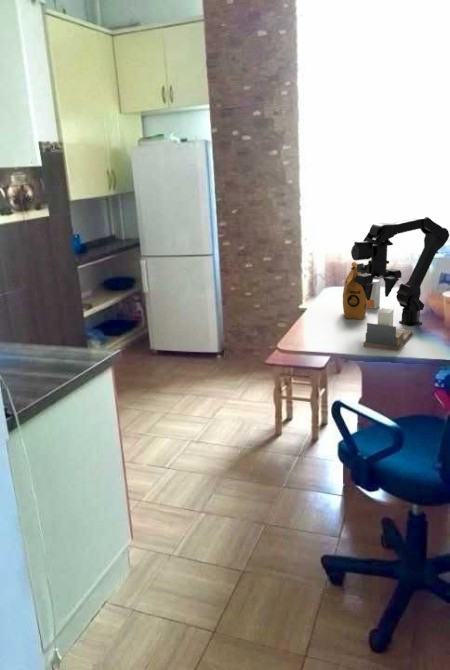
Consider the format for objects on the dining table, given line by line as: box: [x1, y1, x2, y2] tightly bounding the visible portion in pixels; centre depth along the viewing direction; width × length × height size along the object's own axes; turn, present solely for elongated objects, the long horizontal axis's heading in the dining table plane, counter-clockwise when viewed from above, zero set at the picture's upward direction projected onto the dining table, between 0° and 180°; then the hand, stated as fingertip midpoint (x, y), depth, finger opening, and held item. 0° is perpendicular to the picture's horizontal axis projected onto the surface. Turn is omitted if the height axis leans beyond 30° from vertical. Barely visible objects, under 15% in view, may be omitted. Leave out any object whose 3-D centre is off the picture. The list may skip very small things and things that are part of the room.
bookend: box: [366, 322, 397, 346], centre depth 192 cm, size 1×10×7 cm, turn 59°
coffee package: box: [342, 261, 367, 320], centre depth 231 cm, size 10×12×22 cm
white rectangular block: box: [377, 308, 394, 326], centre depth 195 cm, size 5×4×11 cm
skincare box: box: [366, 279, 381, 309], centre depth 244 cm, size 6×4×12 cm
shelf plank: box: [362, 328, 413, 352], centre depth 201 cm, size 20×12×4 cm, turn 148°
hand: (377, 298), depth 212 cm, fingers open, 9 cm apart
